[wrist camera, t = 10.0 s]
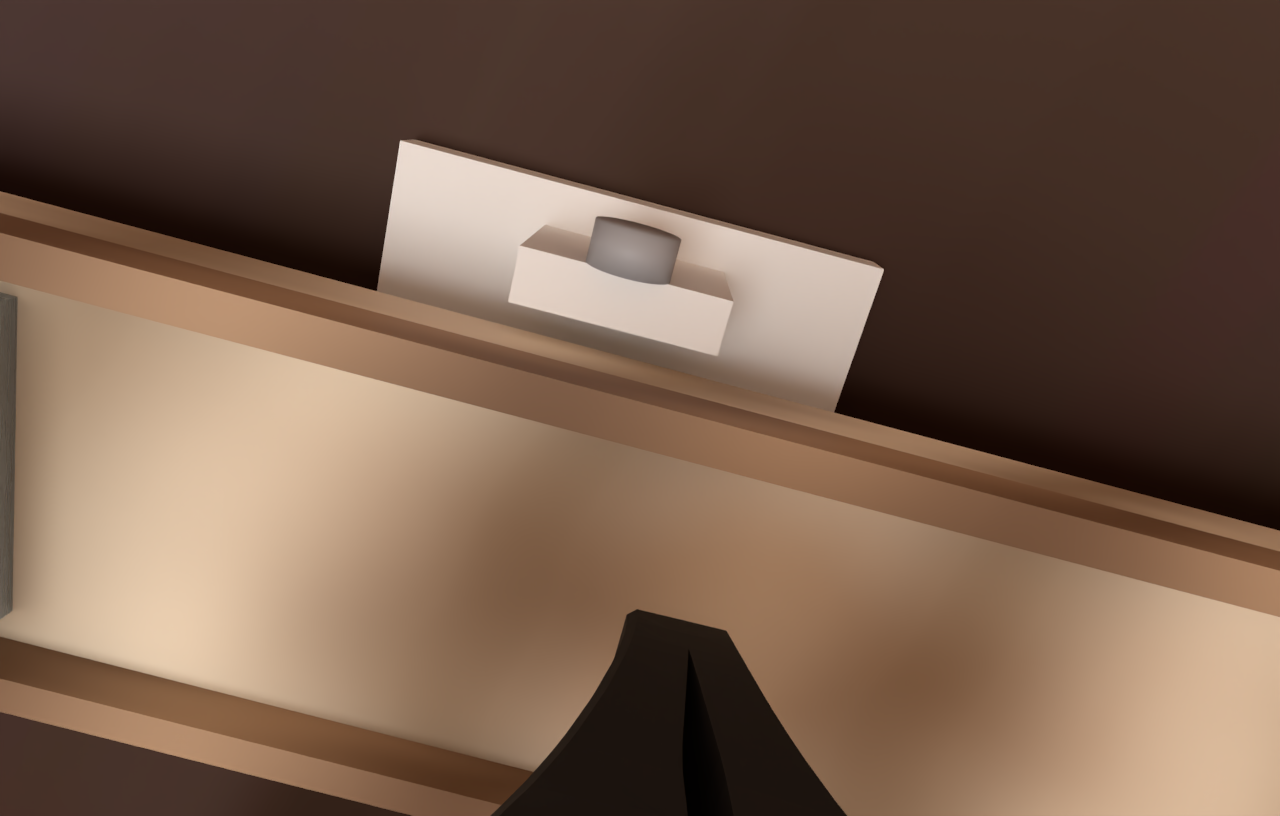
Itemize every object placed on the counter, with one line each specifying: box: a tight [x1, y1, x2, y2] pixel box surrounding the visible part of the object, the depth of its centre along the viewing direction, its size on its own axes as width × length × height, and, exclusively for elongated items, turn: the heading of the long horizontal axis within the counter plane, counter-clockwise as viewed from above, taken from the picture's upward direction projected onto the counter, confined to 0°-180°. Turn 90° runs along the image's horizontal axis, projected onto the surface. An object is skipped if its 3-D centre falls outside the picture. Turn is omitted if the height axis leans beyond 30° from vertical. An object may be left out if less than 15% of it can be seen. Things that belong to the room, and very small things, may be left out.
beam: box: [0, 191, 1280, 816], centre depth 12 cm, size 32×7×2 cm, turn 76°
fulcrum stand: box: [377, 139, 884, 412], centre depth 14 cm, size 11×8×4 cm
